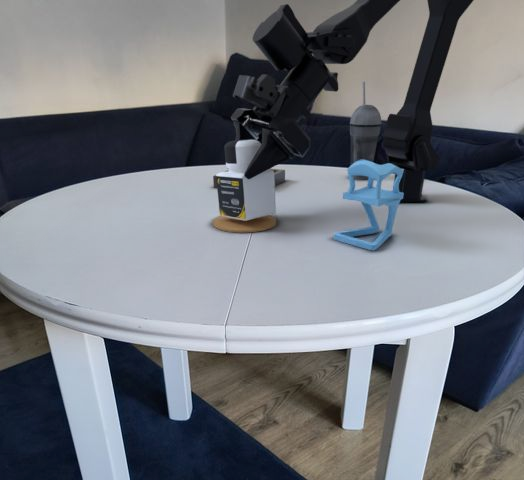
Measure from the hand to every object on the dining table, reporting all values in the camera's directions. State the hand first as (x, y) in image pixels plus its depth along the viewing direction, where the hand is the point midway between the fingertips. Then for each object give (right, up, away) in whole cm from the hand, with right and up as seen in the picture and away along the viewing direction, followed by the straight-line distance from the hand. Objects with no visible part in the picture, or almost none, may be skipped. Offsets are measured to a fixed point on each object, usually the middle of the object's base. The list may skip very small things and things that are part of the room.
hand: (236, 173), depth 79 cm
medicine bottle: (+2, -6, +4) cm, 8 cm away
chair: (+21, -12, -3) cm, 24 cm away
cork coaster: (+1, -7, +5) cm, 9 cm away
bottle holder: (+1, +9, +30) cm, 32 cm away
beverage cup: (+28, +12, +35) cm, 46 cm away
